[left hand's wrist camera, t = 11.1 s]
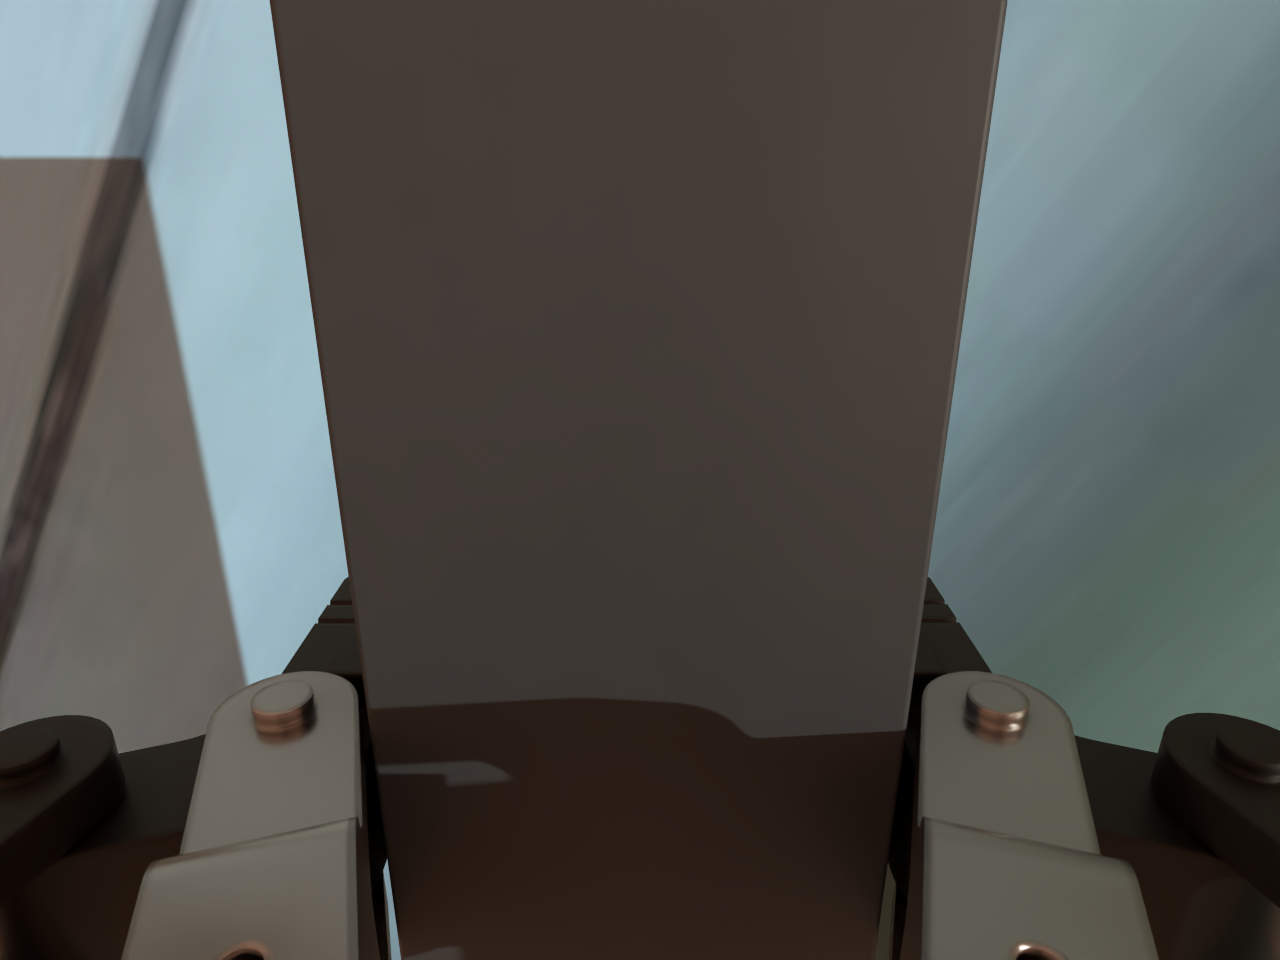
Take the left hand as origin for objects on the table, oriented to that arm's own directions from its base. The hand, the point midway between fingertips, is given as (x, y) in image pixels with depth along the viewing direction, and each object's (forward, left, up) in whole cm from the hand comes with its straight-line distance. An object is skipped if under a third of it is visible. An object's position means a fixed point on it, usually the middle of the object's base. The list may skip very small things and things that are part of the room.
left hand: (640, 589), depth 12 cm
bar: (+16, -18, -4) cm, 24 cm away
